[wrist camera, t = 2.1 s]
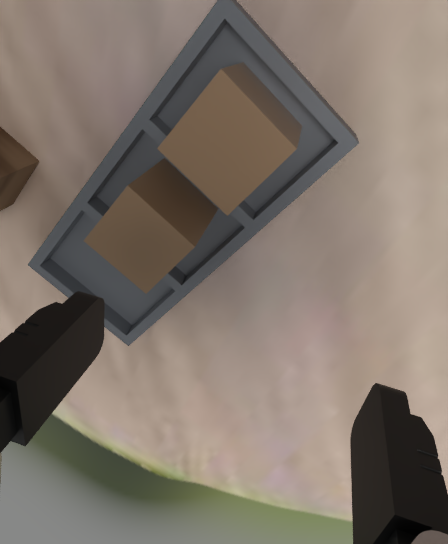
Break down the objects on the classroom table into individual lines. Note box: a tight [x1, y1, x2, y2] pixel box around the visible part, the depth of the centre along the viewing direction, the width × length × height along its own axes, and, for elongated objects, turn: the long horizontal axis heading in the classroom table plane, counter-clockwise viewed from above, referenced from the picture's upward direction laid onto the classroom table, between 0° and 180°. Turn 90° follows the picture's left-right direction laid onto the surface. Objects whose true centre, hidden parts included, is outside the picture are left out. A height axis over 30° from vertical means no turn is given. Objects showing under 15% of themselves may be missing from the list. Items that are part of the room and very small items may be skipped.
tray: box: [28, 0, 359, 346], centre depth 27 cm, size 11×24×7 cm, turn 138°
